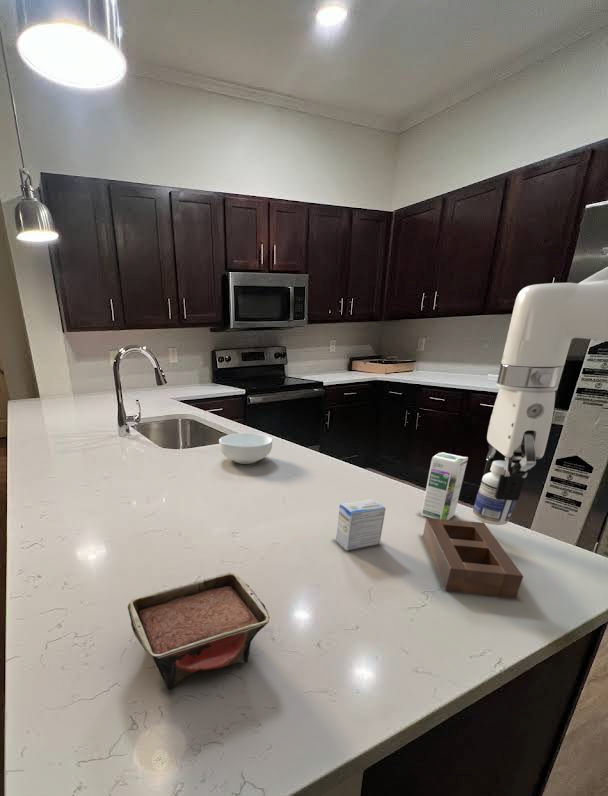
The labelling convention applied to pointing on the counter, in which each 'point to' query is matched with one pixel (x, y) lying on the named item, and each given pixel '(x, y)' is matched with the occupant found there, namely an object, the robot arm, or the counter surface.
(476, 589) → the holder
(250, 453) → the cereal bowl
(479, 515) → the pill bottle
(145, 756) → the counter surface
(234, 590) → the baking dish
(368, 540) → the medicine box
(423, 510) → the syrup box
